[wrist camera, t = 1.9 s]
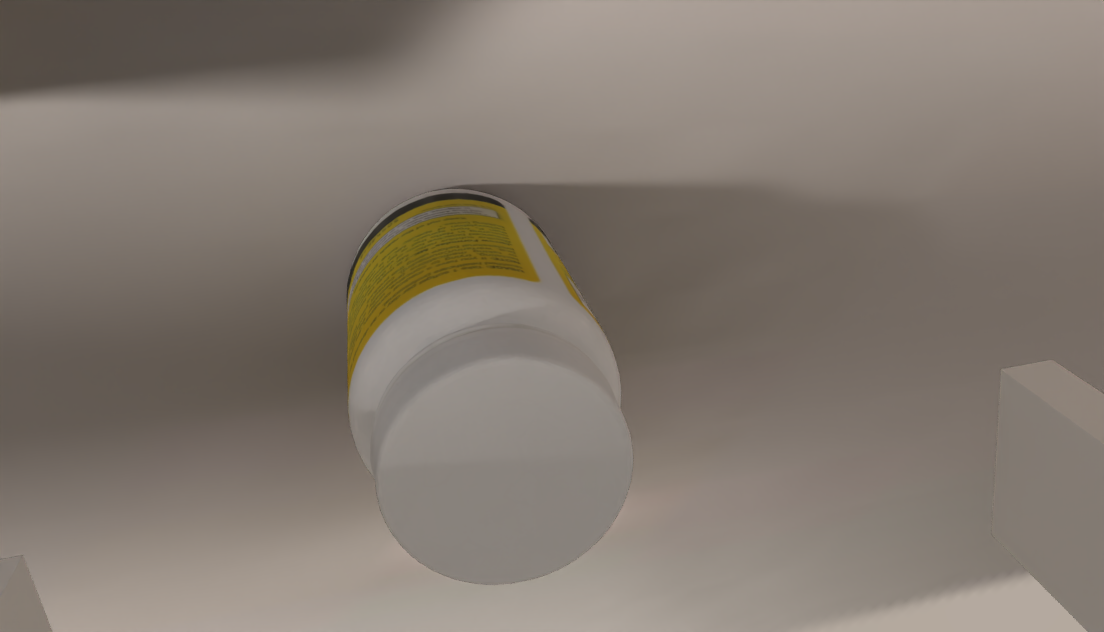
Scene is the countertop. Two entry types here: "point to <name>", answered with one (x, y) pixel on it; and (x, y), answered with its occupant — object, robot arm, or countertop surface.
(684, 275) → the countertop surface
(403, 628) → the countertop surface
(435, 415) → the supplement bottle
